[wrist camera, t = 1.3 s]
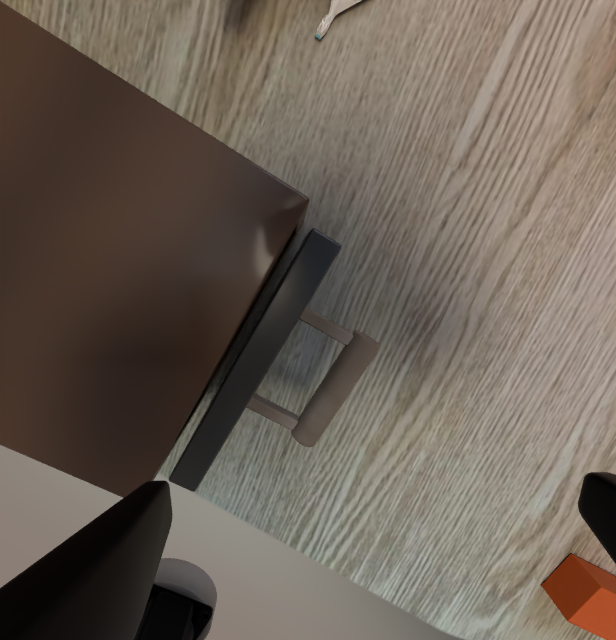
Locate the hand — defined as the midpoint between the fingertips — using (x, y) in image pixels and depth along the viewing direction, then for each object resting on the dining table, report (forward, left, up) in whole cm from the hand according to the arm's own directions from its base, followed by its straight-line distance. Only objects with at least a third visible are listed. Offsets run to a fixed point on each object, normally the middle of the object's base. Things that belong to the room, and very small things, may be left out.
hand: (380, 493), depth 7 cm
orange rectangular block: (-7, -29, -13) cm, 33 cm away
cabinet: (-1, +12, -13) cm, 18 cm away
